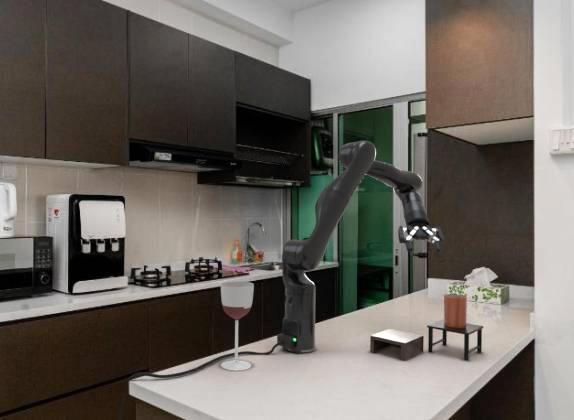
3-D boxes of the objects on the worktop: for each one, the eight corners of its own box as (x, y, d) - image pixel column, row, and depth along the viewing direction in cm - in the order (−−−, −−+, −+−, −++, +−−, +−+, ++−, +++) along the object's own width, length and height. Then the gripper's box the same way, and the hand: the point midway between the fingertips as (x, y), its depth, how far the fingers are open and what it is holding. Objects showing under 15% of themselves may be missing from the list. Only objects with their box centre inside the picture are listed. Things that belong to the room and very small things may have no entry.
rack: (468, 361, 135) (468, 333, 135) (426, 351, 143) (427, 325, 143) (483, 352, 143) (483, 326, 143) (442, 344, 152) (443, 319, 152)
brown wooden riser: (404, 360, 134) (405, 343, 134) (370, 352, 142) (370, 335, 142) (423, 352, 143) (423, 335, 143) (389, 344, 151) (389, 328, 151)
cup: (461, 329, 139) (462, 298, 139) (440, 325, 143) (440, 295, 143) (469, 325, 143) (470, 295, 143) (448, 322, 148) (449, 293, 148)
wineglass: (257, 362, 131) (259, 283, 131) (243, 373, 122) (244, 288, 122) (229, 357, 135) (230, 280, 135) (213, 368, 126) (214, 285, 126)
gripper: (396, 208, 166) (404, 243, 155) (438, 209, 165) (449, 244, 153) (393, 223, 172) (400, 258, 160) (433, 224, 170) (443, 259, 159)
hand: (424, 251), depth 157 cm, fingers open, 8 cm apart
